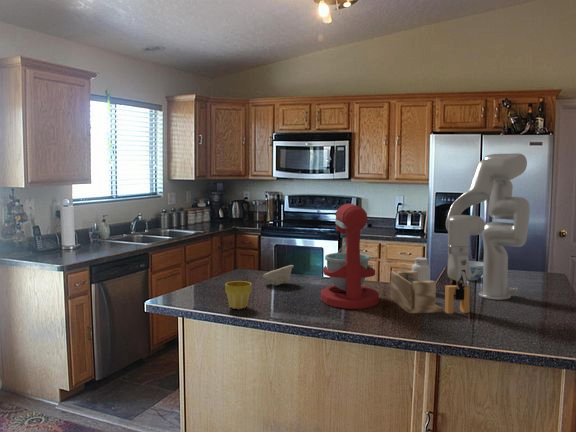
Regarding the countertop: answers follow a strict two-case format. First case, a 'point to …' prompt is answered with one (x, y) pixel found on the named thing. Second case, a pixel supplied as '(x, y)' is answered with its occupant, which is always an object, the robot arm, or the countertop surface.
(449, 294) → the upright wooden block
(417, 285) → the wooden vise
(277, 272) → the bowl
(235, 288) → the plant pot
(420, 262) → the pill bottle
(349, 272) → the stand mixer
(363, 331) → the countertop surface
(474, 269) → the chinaware
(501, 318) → the countertop surface
